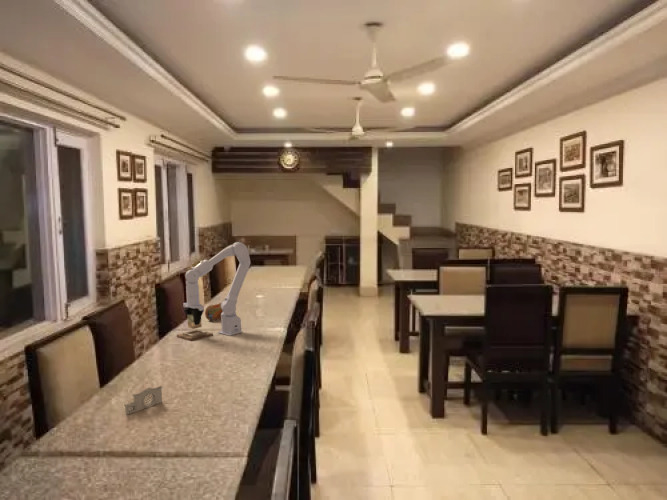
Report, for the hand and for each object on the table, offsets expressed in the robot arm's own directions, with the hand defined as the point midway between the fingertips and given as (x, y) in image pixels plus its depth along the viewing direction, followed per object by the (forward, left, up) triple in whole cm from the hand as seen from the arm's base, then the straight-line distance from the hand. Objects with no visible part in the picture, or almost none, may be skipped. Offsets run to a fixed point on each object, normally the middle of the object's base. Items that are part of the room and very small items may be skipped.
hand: (194, 323), depth 235 cm
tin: (+22, -28, -6) cm, 36 cm away
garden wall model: (-62, +57, -6) cm, 84 cm away
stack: (0, 0, -2) cm, 2 cm away
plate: (0, 0, -6) cm, 6 cm away
